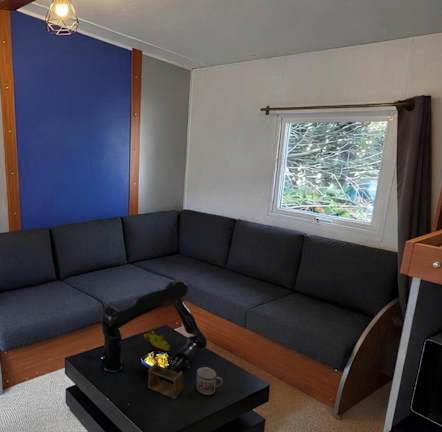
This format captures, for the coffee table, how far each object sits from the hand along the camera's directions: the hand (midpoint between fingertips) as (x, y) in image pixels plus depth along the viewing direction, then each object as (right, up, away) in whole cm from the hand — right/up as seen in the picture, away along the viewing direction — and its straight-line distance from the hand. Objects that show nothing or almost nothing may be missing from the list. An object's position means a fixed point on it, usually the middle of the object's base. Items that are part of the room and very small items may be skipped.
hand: (170, 371), depth 195 cm
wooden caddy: (-4, -7, -3) cm, 9 cm away
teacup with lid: (+17, -8, -4) cm, 19 cm away
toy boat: (0, +1, +34) cm, 33 cm away
